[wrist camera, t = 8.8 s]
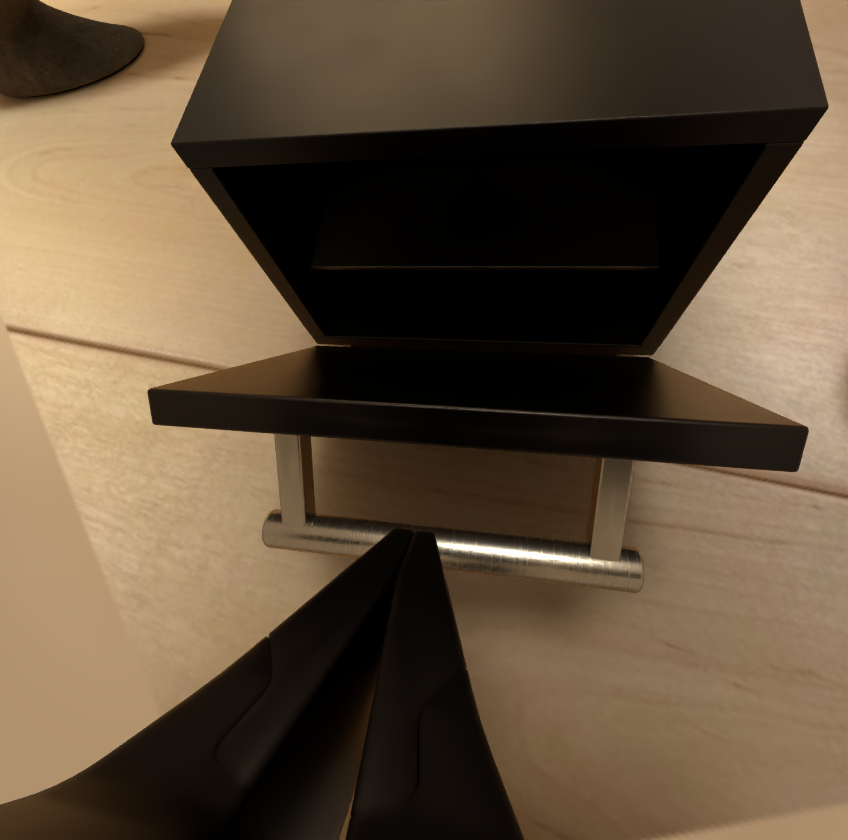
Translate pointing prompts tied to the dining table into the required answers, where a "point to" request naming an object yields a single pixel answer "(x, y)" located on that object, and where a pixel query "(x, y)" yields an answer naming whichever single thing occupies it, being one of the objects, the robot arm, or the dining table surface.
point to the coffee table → (58, 49)
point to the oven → (497, 160)
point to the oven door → (483, 439)
